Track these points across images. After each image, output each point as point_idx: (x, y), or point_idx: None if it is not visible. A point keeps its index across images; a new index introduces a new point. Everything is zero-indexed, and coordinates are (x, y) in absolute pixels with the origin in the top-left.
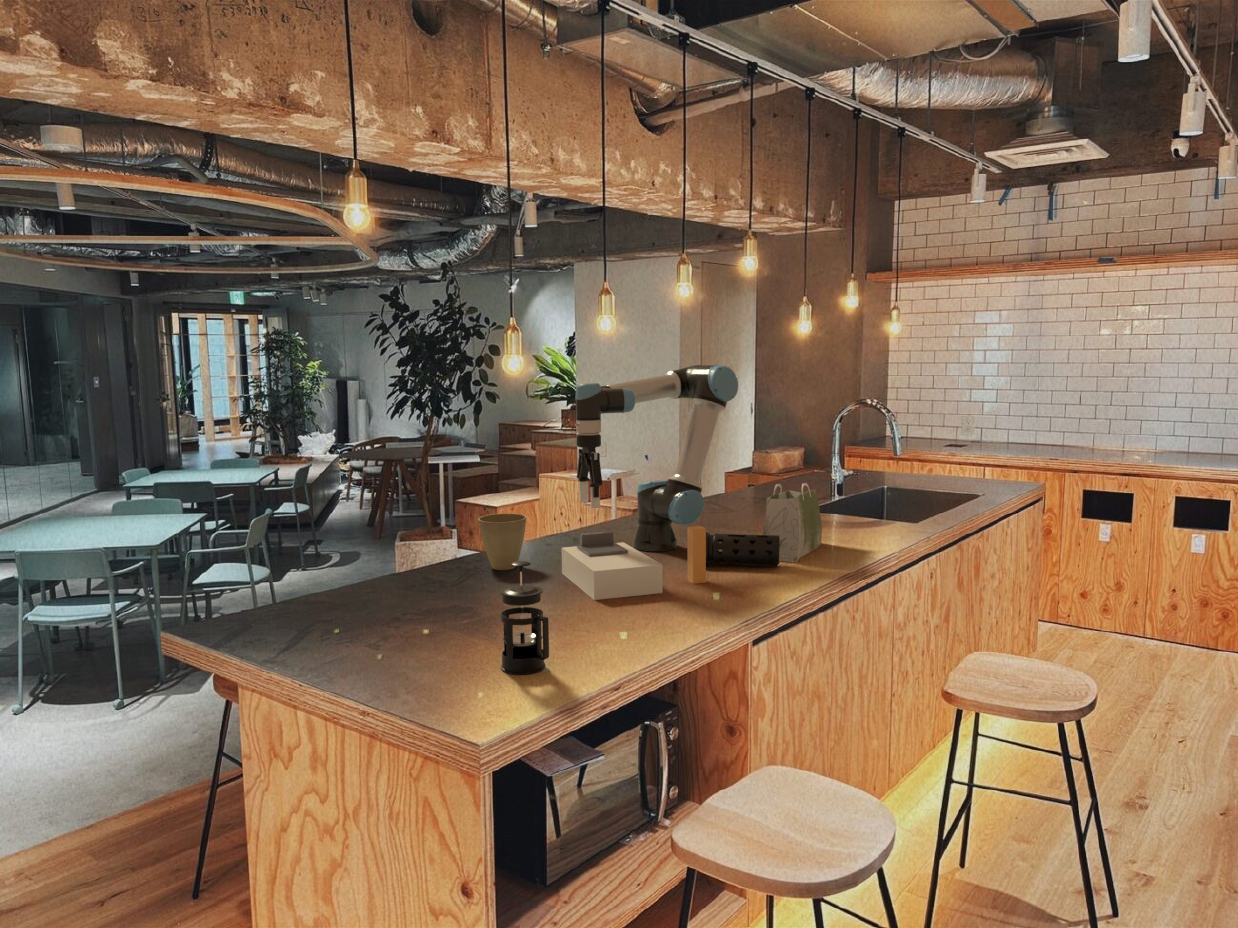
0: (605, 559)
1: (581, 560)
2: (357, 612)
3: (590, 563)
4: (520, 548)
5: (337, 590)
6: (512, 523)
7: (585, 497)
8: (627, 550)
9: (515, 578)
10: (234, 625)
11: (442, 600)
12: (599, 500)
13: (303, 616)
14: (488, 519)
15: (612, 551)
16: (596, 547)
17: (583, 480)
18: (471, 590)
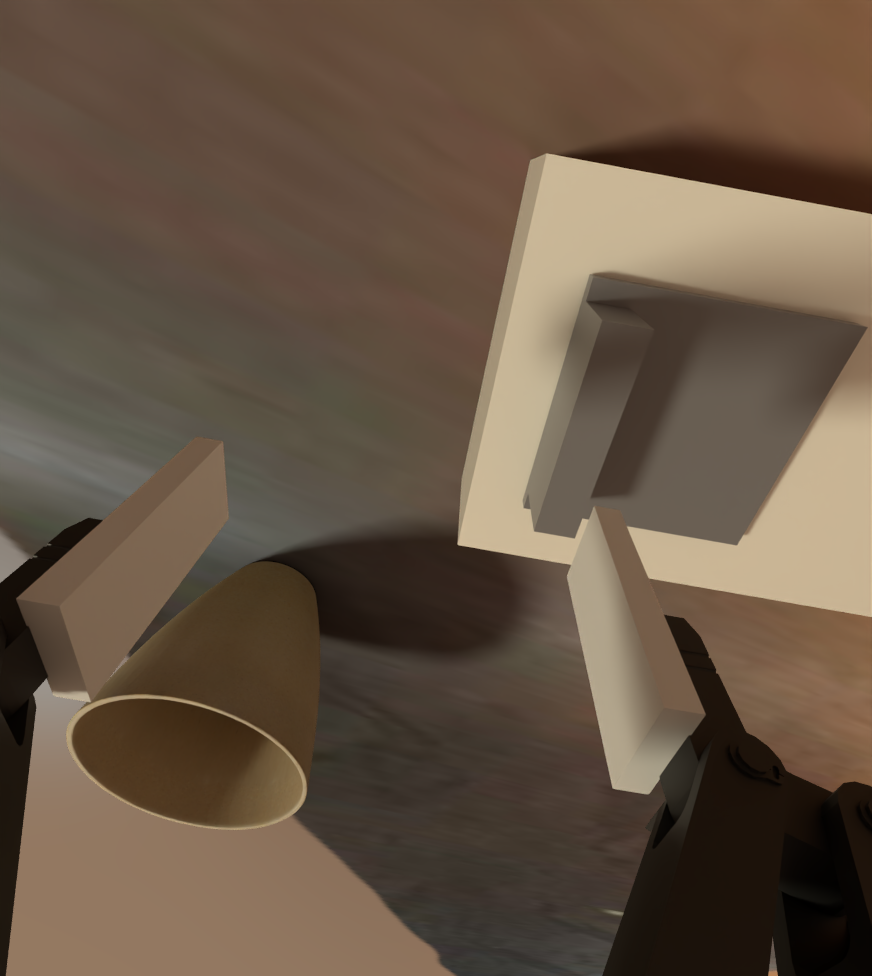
0: (849, 501)
1: (763, 589)
2: (527, 879)
3: (846, 586)
4: (289, 614)
5: (346, 863)
6: (306, 766)
7: (200, 498)
8: (865, 330)
9: (441, 618)
10: (487, 956)
11: (547, 790)
12: (638, 563)
13: (497, 916)
14: (112, 761)
15: (805, 426)
16: (643, 450)
17: (23, 664)
18: (501, 731)
